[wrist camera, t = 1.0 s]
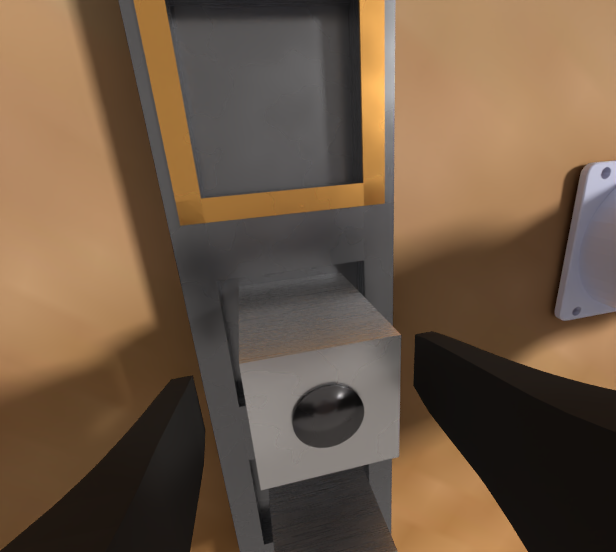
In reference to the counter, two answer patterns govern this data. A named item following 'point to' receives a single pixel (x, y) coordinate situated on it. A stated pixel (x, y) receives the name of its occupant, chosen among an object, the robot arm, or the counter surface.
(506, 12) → the counter surface
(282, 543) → the nut
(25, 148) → the counter surface
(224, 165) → the rail
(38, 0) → the counter surface
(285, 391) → the drawer with knob
